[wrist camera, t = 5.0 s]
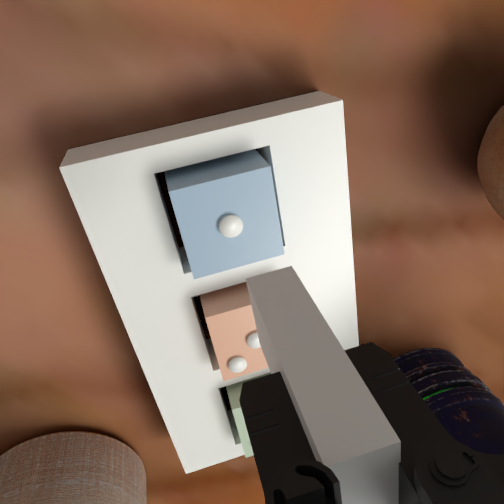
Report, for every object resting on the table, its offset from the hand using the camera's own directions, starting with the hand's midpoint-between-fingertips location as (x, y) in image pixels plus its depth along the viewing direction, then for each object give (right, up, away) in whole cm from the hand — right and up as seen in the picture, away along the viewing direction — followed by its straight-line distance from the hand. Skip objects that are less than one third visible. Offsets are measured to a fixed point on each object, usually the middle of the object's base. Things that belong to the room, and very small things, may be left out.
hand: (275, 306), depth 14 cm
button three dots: (-1, -2, +12) cm, 12 cm away
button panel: (-2, -1, +13) cm, 14 cm away
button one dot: (-3, +4, +9) cm, 10 cm away
